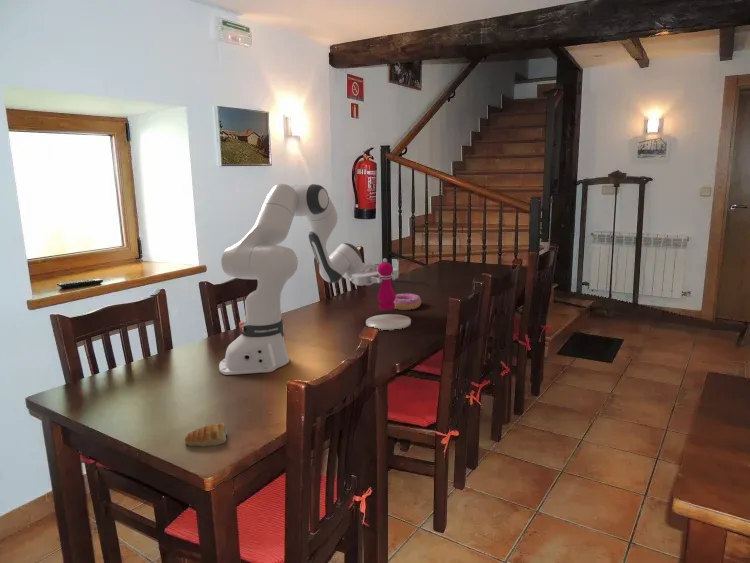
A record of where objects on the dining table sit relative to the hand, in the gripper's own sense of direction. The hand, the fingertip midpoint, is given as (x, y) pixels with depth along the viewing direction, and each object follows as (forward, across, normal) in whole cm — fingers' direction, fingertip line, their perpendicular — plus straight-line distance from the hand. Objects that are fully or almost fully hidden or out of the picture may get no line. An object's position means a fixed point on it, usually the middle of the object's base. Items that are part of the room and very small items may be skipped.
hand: (387, 279), depth 209 cm
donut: (-17, +23, +19) cm, 34 cm away
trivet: (-1, +1, +18) cm, 19 cm away
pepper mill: (-1, 0, +12) cm, 12 cm away
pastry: (+45, -89, +18) cm, 102 cm away
